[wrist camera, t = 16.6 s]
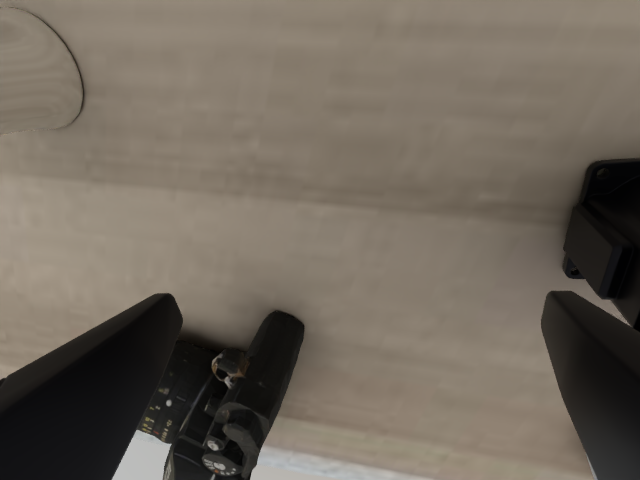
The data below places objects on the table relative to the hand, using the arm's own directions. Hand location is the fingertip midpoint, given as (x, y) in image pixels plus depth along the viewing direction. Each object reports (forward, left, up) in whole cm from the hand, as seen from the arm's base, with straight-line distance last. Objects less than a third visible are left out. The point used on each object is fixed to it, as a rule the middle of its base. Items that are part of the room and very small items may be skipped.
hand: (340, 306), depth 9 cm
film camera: (+13, +17, -12) cm, 24 cm away
